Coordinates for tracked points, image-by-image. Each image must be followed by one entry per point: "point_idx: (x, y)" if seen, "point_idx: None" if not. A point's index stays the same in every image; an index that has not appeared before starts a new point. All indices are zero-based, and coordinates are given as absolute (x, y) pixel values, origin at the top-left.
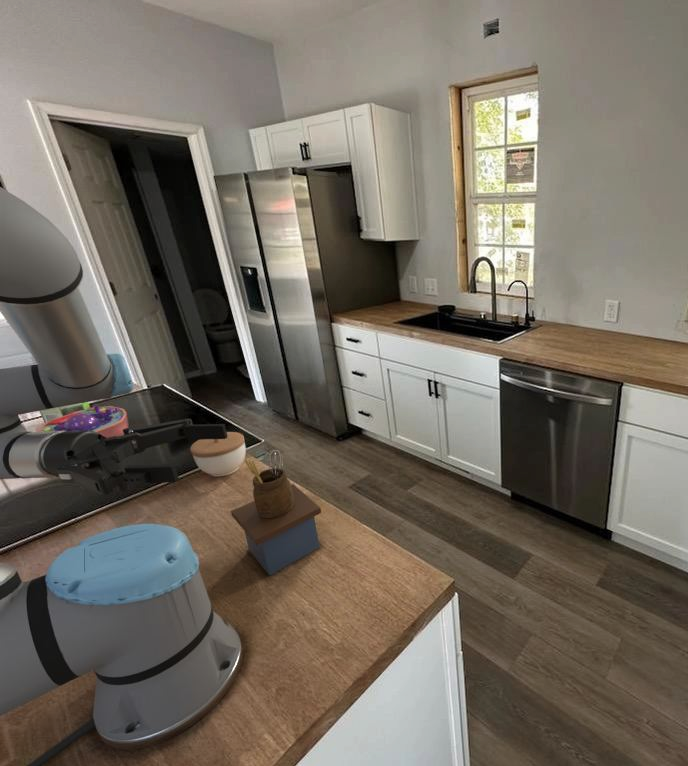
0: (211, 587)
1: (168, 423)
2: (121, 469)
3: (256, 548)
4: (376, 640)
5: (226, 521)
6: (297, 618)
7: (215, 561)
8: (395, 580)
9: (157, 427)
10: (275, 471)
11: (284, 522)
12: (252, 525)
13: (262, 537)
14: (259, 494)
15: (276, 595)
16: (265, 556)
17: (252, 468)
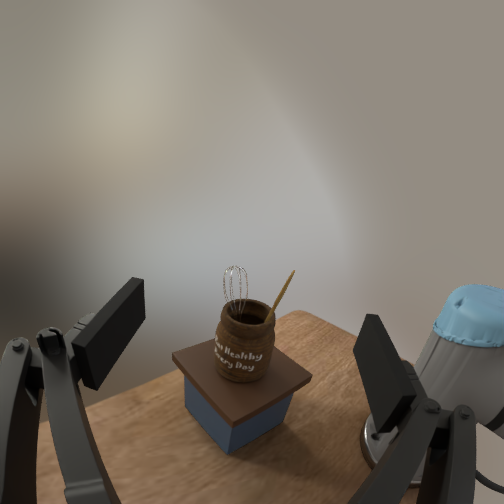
0: (298, 477)
1: (5, 392)
2: (419, 404)
3: (265, 419)
4: (350, 338)
5: (131, 497)
6: (339, 385)
7: (243, 492)
8: (295, 329)
9: (12, 430)
10: (231, 309)
11: (277, 353)
12: (280, 384)
13: (305, 370)
14: (273, 337)
15: (313, 408)
16: (290, 400)
17: (285, 289)
